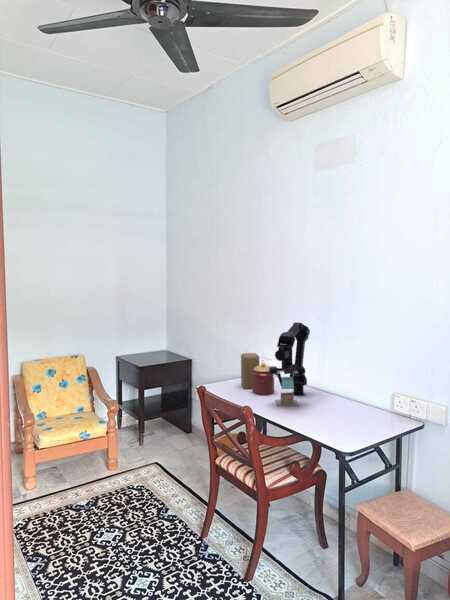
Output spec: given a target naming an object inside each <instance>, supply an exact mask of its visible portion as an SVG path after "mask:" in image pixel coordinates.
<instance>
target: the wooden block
mask: <svg viewBox="0 0 450 600" xmlns="http://www.w3.org/2000/svg"><path fill="white" fill-rule="evenodd" d="M256 366H260V356H259V354H258V353H256V352H252V353H251V352H250V353H249V352H247V353H246V352H245V353H241V355H240V375H241V376H240V384H241V386H242V388H243V389H247V390H248V389H252V388H253V380H252V378H253V374H252V372H253V371H254V368H255V367H256Z"/></svg>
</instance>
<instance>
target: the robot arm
mask: <svg viewBox="0 0 450 600" xmlns="http://www.w3.org/2000/svg"><path fill="white" fill-rule="evenodd" d="M310 331H311V330H310V328H309V327H308V326H307V325H305V324H304V323H302V322H293V323H292V326H291V327H290V328H289V329H288V330H287V331H284V332H282V333H280V335H279V336H278V337H279V338H278V342H277V346H276V347H277V348H278V349H277V350H276V351H275V354H274V357H275V359H276V360H277V361H279V362H281V367H277V366H276V365H275V366H270V365H269V366H270V367H269V372H270V374H274V375H275V376H277V379H278V381H279V384H280V387H281V386H282V382H281V377H282V376H281V375H282V373H281V372H283V373H284V375H288V374H289V377H292V378H293V391H291V392H292V394H293V396H306V394H305V393H304V388H305V387H304V386H307V385H308V379H307V377H306V368H305V367H304V366H303V365H304V356H305V346H306V345H305V344H306V342H307V341H308V339H309V336H310V333H311V332H310ZM295 341H296V342H295ZM295 343H296V347H295V348H296V349H295V356H294V357H295V358H294V363H293V347H294V345H295Z"/></svg>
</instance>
